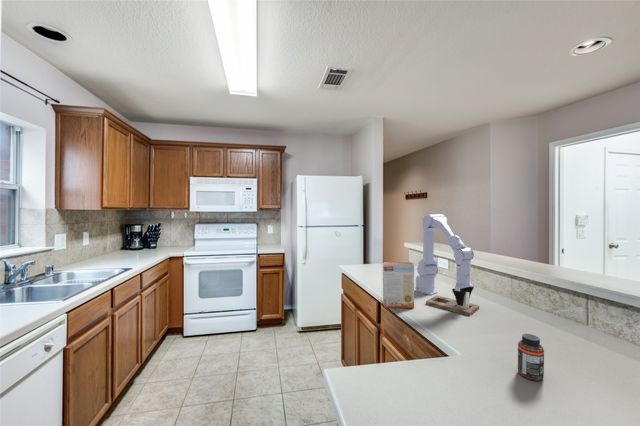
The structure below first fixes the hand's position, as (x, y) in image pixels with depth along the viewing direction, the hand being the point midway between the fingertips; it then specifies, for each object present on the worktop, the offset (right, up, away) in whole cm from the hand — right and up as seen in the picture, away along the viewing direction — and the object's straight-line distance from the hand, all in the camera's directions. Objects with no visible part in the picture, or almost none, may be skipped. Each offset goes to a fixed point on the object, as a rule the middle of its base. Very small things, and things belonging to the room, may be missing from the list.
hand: (463, 303), depth 128 cm
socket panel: (-3, -3, +4) cm, 6 cm away
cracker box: (-29, -3, +5) cm, 29 cm away
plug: (0, -3, 0) cm, 3 cm away
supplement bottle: (-6, -5, -49) cm, 50 cm away
